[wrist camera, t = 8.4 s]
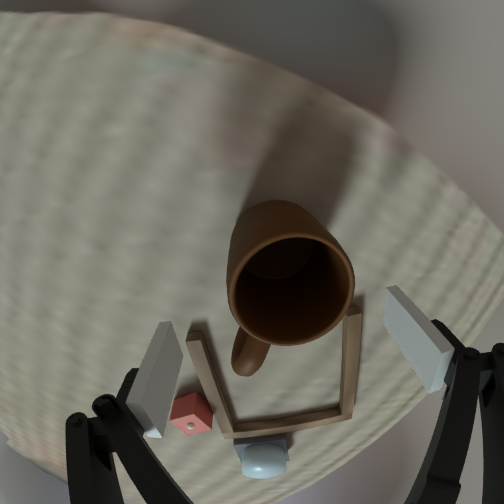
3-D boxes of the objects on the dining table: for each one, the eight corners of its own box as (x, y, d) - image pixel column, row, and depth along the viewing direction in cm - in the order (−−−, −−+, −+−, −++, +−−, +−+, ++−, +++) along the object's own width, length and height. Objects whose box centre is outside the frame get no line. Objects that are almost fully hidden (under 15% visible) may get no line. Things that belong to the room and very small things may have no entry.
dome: (245, 464, 34) (246, 480, 31) (237, 446, 32) (238, 464, 29) (285, 459, 34) (287, 475, 31) (282, 441, 32) (284, 459, 29)
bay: (224, 430, 33) (224, 439, 32) (187, 332, 27) (185, 341, 26) (348, 410, 33) (351, 418, 32) (356, 305, 27) (361, 313, 26)
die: (190, 414, 32) (187, 438, 28) (174, 399, 31) (168, 423, 27) (213, 407, 32) (211, 432, 28) (196, 391, 30) (193, 417, 27)
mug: (274, 330, 28) (287, 401, 19) (200, 304, 26) (185, 374, 18) (333, 219, 24) (381, 260, 15) (251, 183, 23) (259, 204, 14)
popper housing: (242, 455, 36) (242, 465, 34) (233, 433, 34) (233, 444, 32) (287, 450, 36) (289, 460, 34) (284, 427, 34) (285, 439, 32)
